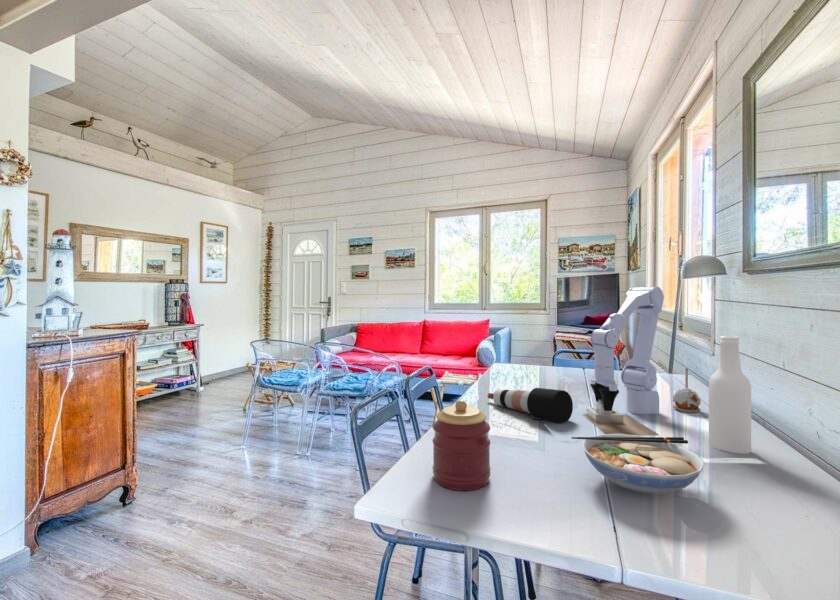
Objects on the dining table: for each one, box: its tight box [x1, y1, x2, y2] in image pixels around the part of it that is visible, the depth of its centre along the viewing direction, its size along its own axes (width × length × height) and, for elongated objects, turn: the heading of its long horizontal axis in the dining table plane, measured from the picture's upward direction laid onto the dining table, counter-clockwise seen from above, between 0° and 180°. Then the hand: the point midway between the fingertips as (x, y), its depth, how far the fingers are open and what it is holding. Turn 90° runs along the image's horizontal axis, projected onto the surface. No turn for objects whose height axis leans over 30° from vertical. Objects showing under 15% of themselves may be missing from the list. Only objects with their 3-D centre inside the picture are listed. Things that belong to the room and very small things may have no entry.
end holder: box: [585, 406, 623, 423], centre depth 128 cm, size 8×8×2 cm
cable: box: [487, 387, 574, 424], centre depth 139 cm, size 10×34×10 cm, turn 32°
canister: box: [432, 399, 492, 491], centre depth 89 cm, size 13×13×18 cm
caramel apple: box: [672, 367, 702, 413], centre depth 140 cm, size 8×8×15 cm
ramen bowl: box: [571, 433, 705, 495], centre depth 85 cm, size 25×23×8 cm
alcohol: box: [708, 335, 752, 454], centre depth 104 cm, size 9×9×30 cm
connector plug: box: [595, 399, 612, 414], centre depth 128 cm, size 4×4×7 cm
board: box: [581, 413, 660, 436], centre depth 123 cm, size 15×20×1 cm
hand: (604, 408), depth 128 cm, fingers open, 5 cm apart
